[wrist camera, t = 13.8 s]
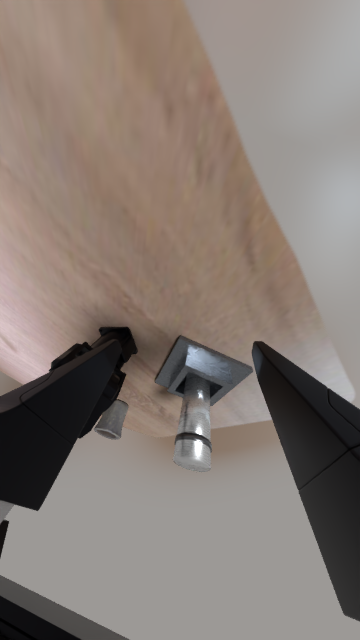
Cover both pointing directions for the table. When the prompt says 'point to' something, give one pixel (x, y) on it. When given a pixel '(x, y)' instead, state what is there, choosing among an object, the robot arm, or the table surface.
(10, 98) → the table surface
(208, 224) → the table surface
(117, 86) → the table surface
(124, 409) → the pipe
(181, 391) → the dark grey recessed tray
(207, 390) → the silver banded cylinder
